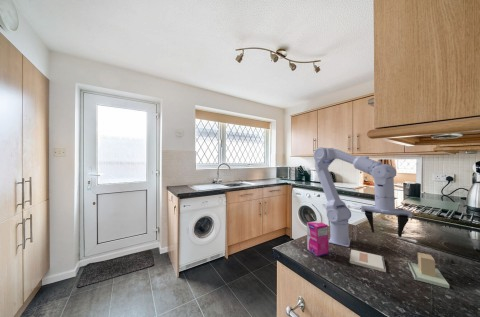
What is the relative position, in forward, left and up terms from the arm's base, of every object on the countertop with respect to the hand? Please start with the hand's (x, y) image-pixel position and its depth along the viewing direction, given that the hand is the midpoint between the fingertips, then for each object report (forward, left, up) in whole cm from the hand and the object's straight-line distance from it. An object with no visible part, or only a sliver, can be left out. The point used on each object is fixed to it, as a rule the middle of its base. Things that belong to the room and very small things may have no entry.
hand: (385, 233), depth 66 cm
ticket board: (+5, -6, -9) cm, 12 cm away
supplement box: (+8, -22, -10) cm, 25 cm away
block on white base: (+5, +9, -9) cm, 14 cm away
